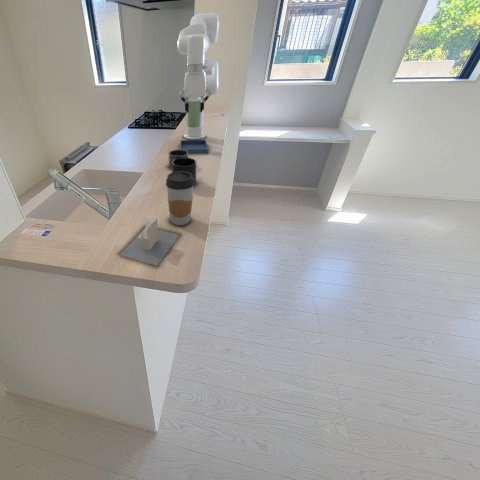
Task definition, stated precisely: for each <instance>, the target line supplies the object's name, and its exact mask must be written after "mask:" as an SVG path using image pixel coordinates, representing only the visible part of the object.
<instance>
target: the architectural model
mask: <svg viewBox="0 0 480 480" xmlns="http://www.w3.org/2000/svg"><path fill="white" fill-rule="evenodd" d="M179 236H180V234H178V233H174V232H169V231H165V230H161V229H159V226H158V217H156V218H155V219H154V218H153V219H152V220H146V223H145V227H144V228H143V229H142V230H141V232H139V234H138V235H137V236H136V237H135V238H134V239H133V240H132V241H131V243H130V244H129V245H127V246H126V248H125V249H124V250H122V252H121V253H120V254H119V256H122V257H125V258H128V259H131V260H136V261H138V262H142V263H145V264H149V265H152V266H155V267H157V266H158V265H159V264H160V262H161V261H162V259H164V257H165V255H166V254H167V253H168V252H169V250H170V248H171V247H172V246H173V244H174V243H175V241H176V240H177V239H178V237H179Z"/></svg>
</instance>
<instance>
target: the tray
mask: <svg viewBox="0 0 480 480" xmlns="http://www.w3.org/2000/svg"><path fill="white" fill-rule="evenodd" d="M178 150H186V151H188V155H189V154H208V153H209V147H208V142H207V139H197V140H191V139H180V141H179V149H178Z"/></svg>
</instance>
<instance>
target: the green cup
mask: <svg viewBox="0 0 480 480" xmlns="http://www.w3.org/2000/svg"><path fill="white" fill-rule="evenodd" d="M200 121H201V100H198V99H194V100H188V127H200Z"/></svg>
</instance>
